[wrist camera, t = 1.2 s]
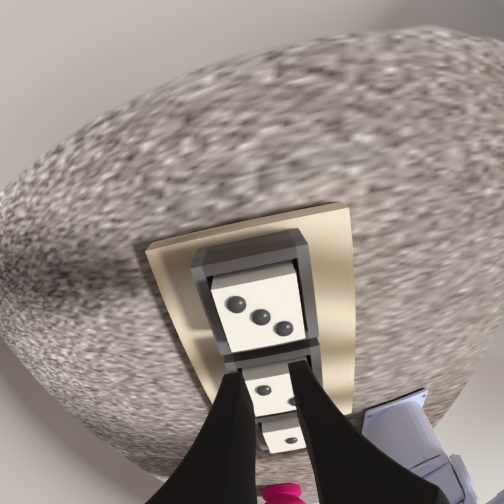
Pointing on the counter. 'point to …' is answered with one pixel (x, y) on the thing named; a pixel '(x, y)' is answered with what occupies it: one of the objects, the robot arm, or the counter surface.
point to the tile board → (256, 254)
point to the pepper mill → (282, 494)
